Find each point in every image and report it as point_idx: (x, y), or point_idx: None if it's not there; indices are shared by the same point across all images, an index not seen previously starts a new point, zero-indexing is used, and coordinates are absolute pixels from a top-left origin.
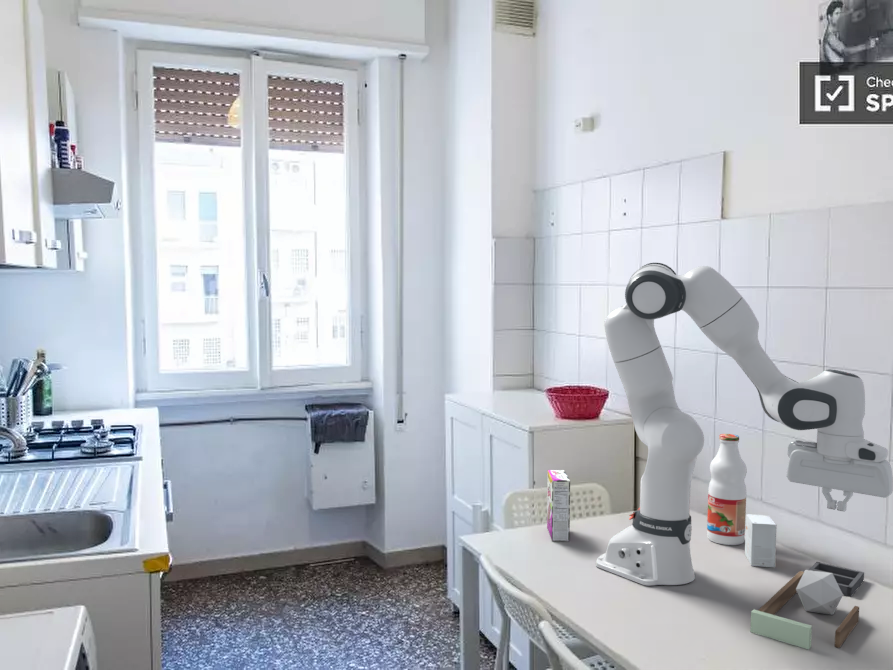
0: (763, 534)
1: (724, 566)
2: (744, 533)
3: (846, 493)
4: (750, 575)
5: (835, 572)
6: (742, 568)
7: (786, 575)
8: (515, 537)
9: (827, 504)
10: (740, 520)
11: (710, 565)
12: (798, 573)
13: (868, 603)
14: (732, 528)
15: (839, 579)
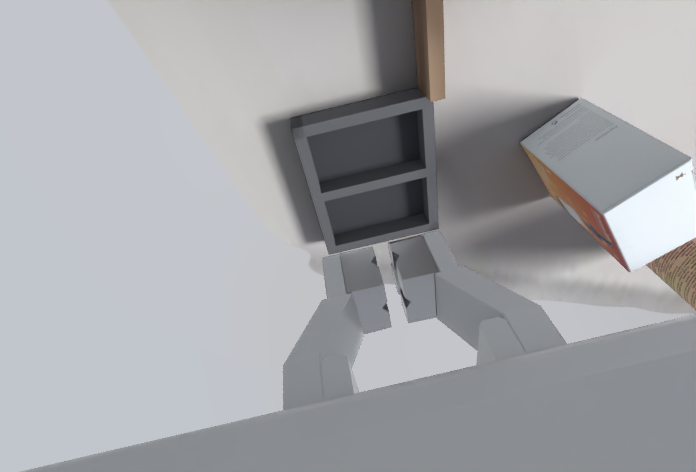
0: (618, 164)
1: (657, 18)
2: None
3: (322, 384)
4: (571, 15)
5: (387, 224)
6: (601, 54)
7: (479, 116)
8: None
9: (446, 244)
10: (678, 249)
11: None
12: (440, 69)
13: (236, 113)
14: None
15: (354, 179)
